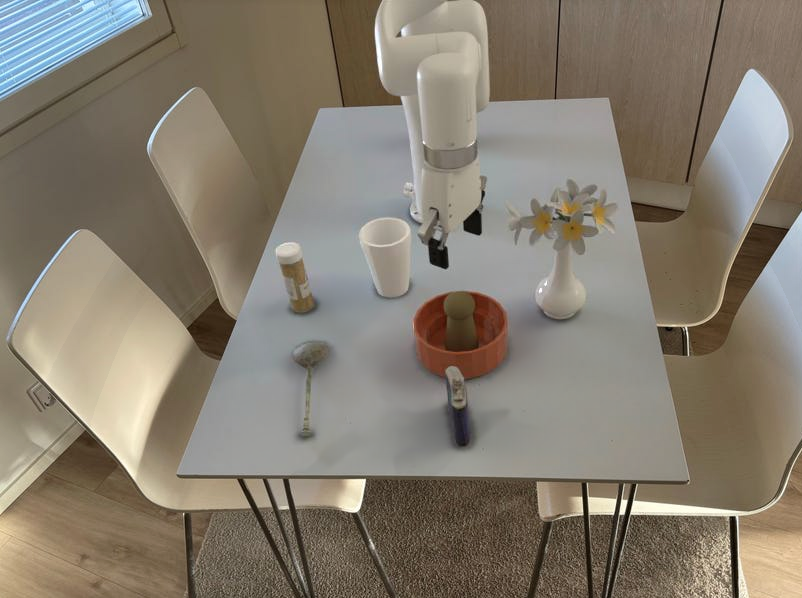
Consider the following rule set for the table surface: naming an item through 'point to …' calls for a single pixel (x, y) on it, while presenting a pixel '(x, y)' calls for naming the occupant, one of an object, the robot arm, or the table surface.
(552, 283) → the flower vase
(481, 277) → the table surface
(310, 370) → the soupspoon
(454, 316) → the olive peg figure
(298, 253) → the sprinkles bottle
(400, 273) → the foam cup
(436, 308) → the orange plant pot
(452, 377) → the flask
